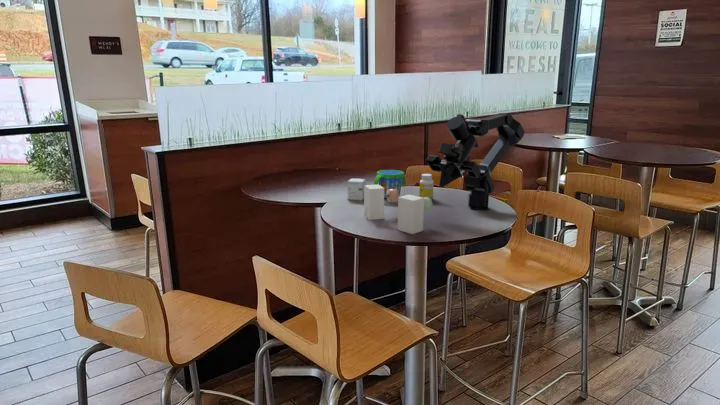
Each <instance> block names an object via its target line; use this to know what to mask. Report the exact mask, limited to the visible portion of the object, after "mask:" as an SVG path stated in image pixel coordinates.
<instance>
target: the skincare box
mask: <svg viewBox="0 0 720 405" xmlns="http://www.w3.org/2000/svg"><path fill="white" fill-rule="evenodd" d="M364 185H367V179H366V178H350V179H349V180H347V200H352V201H363V200H364Z"/></svg>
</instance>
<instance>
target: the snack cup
mask: <svg viewBox="0 0 720 405" xmlns="http://www.w3.org/2000/svg"><path fill="white" fill-rule="evenodd" d="M377 184H378V185H380V186H382V187H383V188H384V194H386V193H387V190H388V189H397V190H398V194H399V197H401V196H400V195H401V189H402V187H406V186H407V177H406V174H405V173H404V171H402V170H396V169H380V170H378V171H376V176H375V179H374V181H373V185H377ZM385 199H386V200H387V198H385Z"/></svg>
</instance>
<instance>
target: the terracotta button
mask: <svg viewBox="0 0 720 405" xmlns="http://www.w3.org/2000/svg"><path fill="white" fill-rule="evenodd" d="M398 197H400V196H399V194H398V190H397V189H388V190H387V193H386V194H384V199H386V198H387V199H386V200H387V203H398Z"/></svg>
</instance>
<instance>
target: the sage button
mask: <svg viewBox="0 0 720 405" xmlns="http://www.w3.org/2000/svg"><path fill="white" fill-rule="evenodd" d="M432 200H433V199H432ZM432 200H431V199H430V198H428V197H424V212H423V213H425V212H429V211H431V210H432V208H433V201H432Z"/></svg>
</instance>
